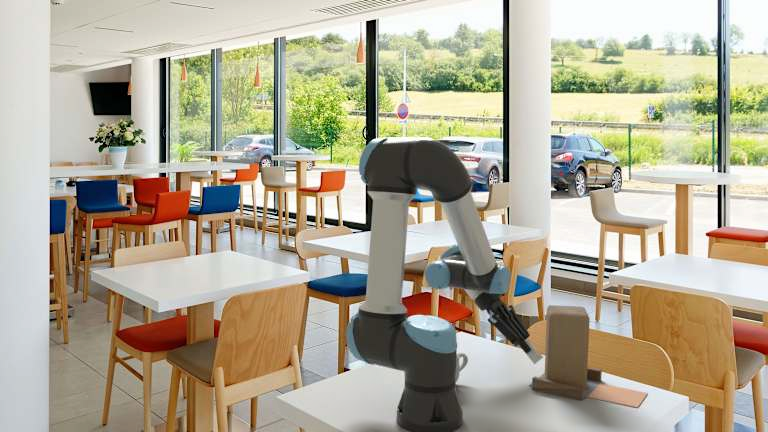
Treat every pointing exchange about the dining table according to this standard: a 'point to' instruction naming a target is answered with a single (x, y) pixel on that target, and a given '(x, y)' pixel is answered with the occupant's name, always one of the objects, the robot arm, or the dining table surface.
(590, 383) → the grey square panel
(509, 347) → the dining table surface
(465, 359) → the teacup
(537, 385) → the lane rails
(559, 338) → the wooden block
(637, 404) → the tile
